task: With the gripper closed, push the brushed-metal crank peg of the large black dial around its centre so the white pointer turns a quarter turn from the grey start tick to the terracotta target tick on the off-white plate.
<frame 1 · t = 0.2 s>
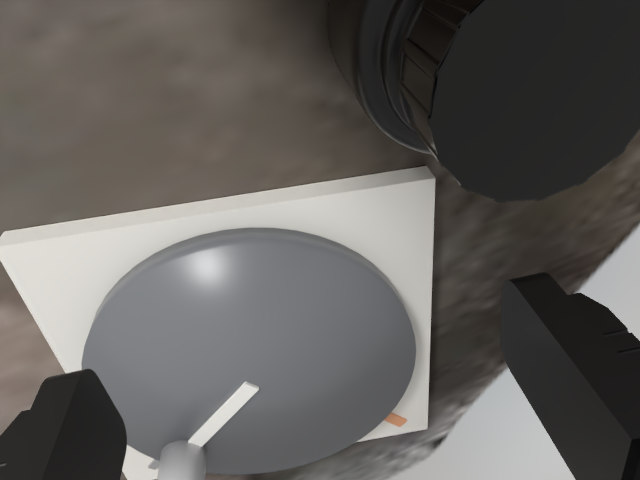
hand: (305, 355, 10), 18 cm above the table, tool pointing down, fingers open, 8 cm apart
ink bottle: (417, 11, 24), on the table
dial: (258, 416, 29), point 6 cm above the table, hinge at 0.0°
dial base: (255, 340, 34), on the table
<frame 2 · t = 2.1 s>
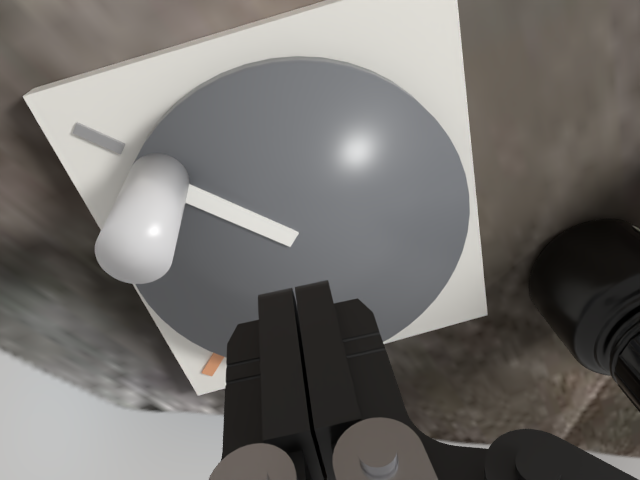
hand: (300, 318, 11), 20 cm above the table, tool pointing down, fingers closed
ink bottle: (582, 265, 38), on the table
dial: (306, 268, 27), point 6 cm above the table, hinge at 0.0°
dial base: (296, 214, 32), on the table
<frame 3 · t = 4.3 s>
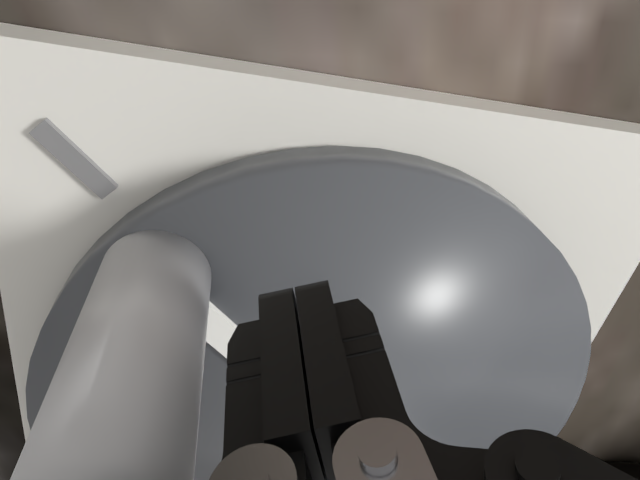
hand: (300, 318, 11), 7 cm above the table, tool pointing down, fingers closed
dial base: (314, 356, 21), on the table
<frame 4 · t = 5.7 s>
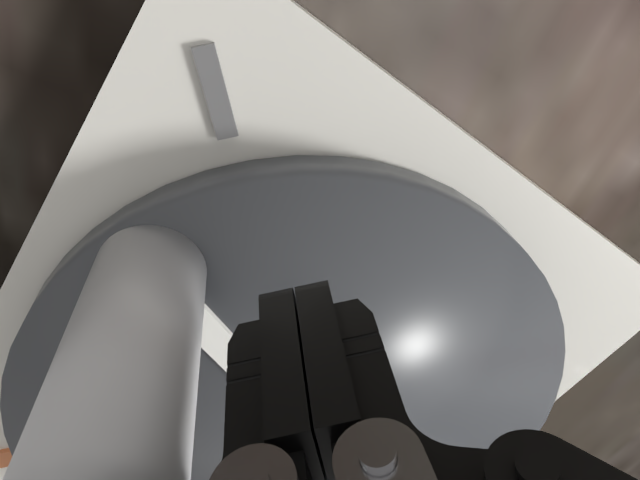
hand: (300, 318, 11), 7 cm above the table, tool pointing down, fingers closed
dial base: (294, 361, 21), on the table
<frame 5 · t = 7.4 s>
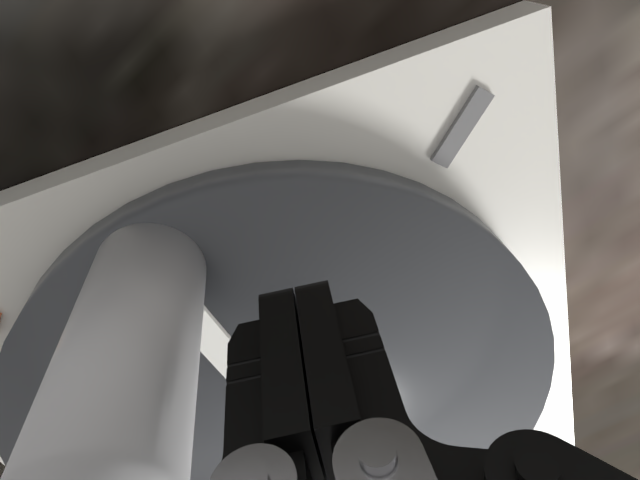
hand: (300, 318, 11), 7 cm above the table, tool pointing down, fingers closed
dial base: (286, 365, 21), on the table
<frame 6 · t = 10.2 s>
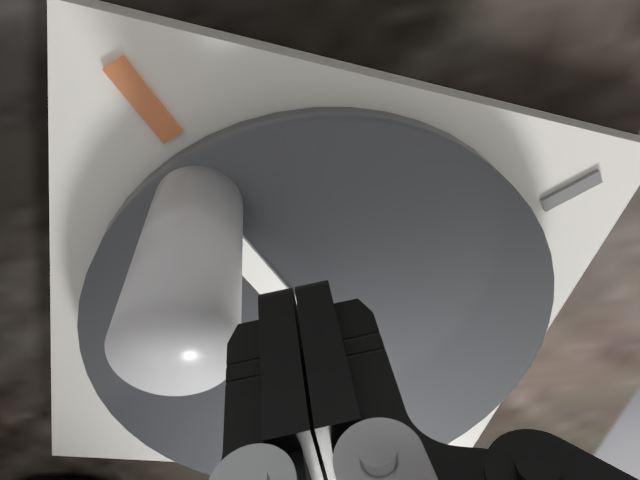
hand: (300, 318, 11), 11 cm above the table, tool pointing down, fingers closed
dial: (336, 397, 19), point 6 cm above the table, hinge at 91.6°
dial base: (317, 299, 24), on the table
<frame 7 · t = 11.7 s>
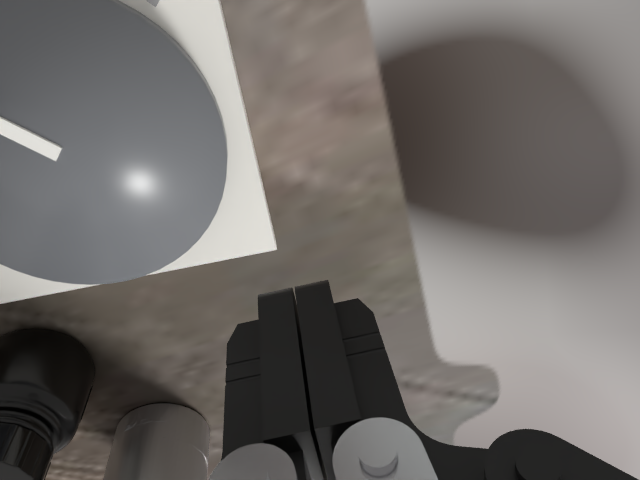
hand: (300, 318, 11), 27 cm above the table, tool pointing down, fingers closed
ink bottle: (44, 361, 45), on the table
dial: (54, 175, 30), point 6 cm above the table, hinge at 91.6°
dial base: (81, 139, 35), on the table
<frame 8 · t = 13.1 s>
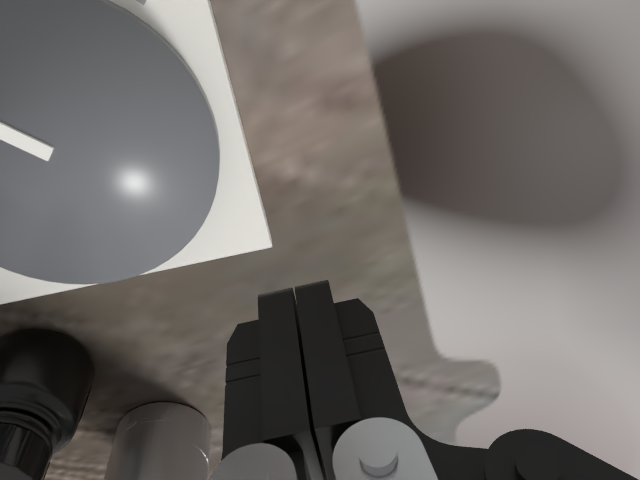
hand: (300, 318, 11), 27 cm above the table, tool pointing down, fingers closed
ink bottle: (43, 362, 45), on the table
dial: (45, 175, 30), point 6 cm above the table, hinge at 91.6°
dial base: (74, 139, 35), on the table
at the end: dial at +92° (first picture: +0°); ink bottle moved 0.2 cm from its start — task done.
